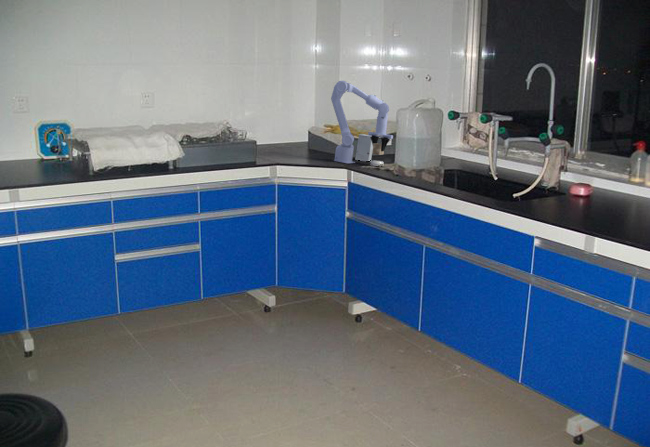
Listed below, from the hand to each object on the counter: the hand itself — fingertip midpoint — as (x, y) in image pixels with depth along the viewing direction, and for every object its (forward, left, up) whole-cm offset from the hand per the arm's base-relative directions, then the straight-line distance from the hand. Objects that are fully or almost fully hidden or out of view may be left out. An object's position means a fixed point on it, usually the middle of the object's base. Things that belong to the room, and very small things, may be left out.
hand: (378, 150), depth 371 cm
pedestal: (0, 0, -8) cm, 8 cm away
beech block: (0, 0, -2) cm, 2 cm away
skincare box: (-16, +9, -9) cm, 20 cm away
